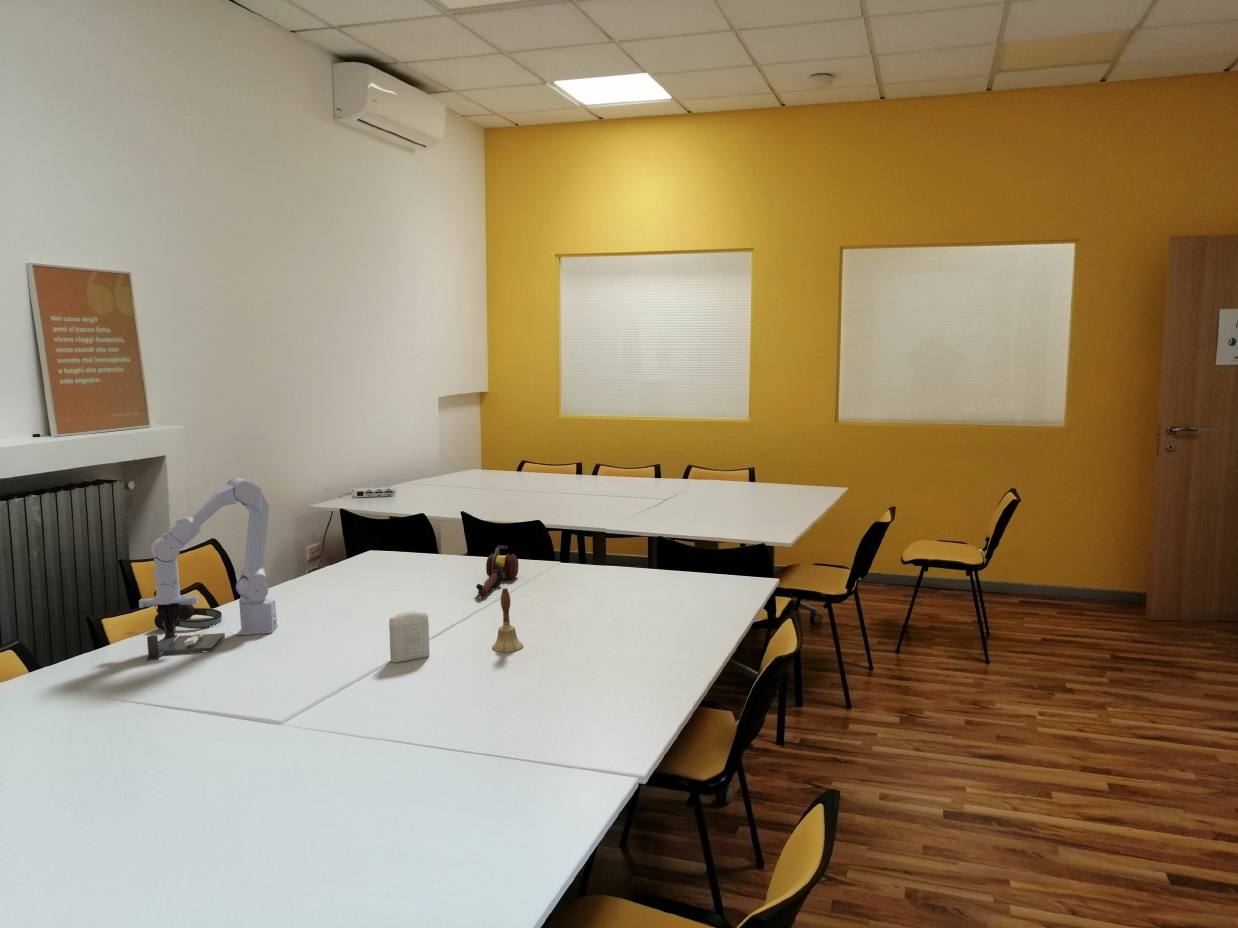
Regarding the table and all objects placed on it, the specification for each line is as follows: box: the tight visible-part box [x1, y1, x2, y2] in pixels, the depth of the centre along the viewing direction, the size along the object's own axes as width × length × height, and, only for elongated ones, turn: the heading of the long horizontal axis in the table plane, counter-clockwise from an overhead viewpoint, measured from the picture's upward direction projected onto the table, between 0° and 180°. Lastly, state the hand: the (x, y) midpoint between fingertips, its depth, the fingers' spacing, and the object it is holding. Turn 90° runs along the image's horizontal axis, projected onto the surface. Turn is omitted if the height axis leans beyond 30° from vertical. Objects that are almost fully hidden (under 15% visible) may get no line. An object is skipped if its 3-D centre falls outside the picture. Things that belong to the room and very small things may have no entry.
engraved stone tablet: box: [388, 610, 430, 664], centre depth 237 cm, size 10×4×12 cm, turn 123°
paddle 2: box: [190, 629, 206, 637], centre depth 254 cm, size 2×4×1 cm, turn 9°
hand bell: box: [491, 587, 524, 653], centre depth 244 cm, size 8×8×16 cm
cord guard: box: [145, 624, 178, 662], centre depth 250 cm, size 3×21×6 cm, turn 13°
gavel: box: [475, 545, 519, 598], centre depth 310 cm, size 10×34×10 cm
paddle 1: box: [184, 636, 198, 646], centre depth 248 cm, size 2×4×1 cm, turn 9°
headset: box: [153, 589, 223, 631], centre depth 272 cm, size 14×10×20 cm
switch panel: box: [163, 632, 226, 656], centre depth 251 cm, size 12×13×1 cm
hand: (171, 631), depth 250 cm, fingers closed
